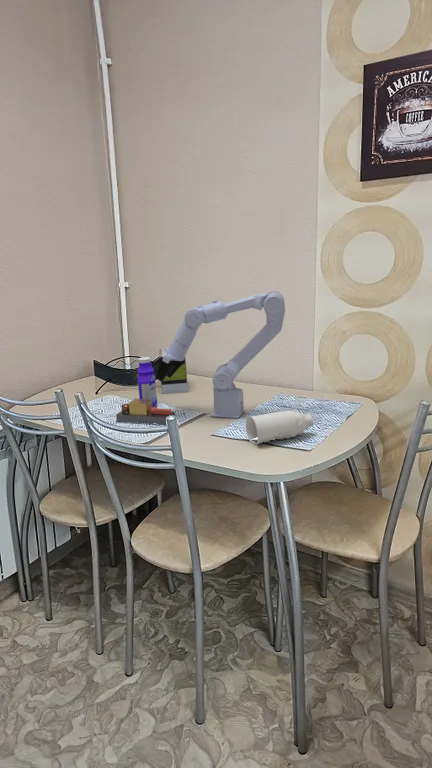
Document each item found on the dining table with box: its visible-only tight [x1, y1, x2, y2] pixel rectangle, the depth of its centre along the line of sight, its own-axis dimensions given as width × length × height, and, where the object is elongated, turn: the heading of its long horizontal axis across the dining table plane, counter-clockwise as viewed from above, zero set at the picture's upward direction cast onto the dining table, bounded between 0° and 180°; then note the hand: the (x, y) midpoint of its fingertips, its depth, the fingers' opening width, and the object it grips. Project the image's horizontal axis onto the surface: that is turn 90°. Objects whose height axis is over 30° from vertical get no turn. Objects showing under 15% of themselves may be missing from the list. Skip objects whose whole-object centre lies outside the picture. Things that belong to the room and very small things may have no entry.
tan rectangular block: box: [128, 398, 152, 416], centre depth 171 cm, size 6×4×4 cm
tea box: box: [158, 347, 189, 395], centre depth 206 cm, size 15×10×15 cm, turn 6°
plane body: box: [115, 403, 176, 426], centre depth 171 cm, size 18×6×5 cm, turn 72°
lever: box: [151, 406, 173, 415], centre depth 169 cm, size 7×2×2 cm, turn 72°
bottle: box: [136, 356, 158, 407], centre depth 184 cm, size 7×6×17 cm
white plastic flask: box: [245, 410, 314, 445], centre depth 150 cm, size 8×19×8 cm, turn 109°
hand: (163, 378), depth 174 cm, fingers open, 7 cm apart
